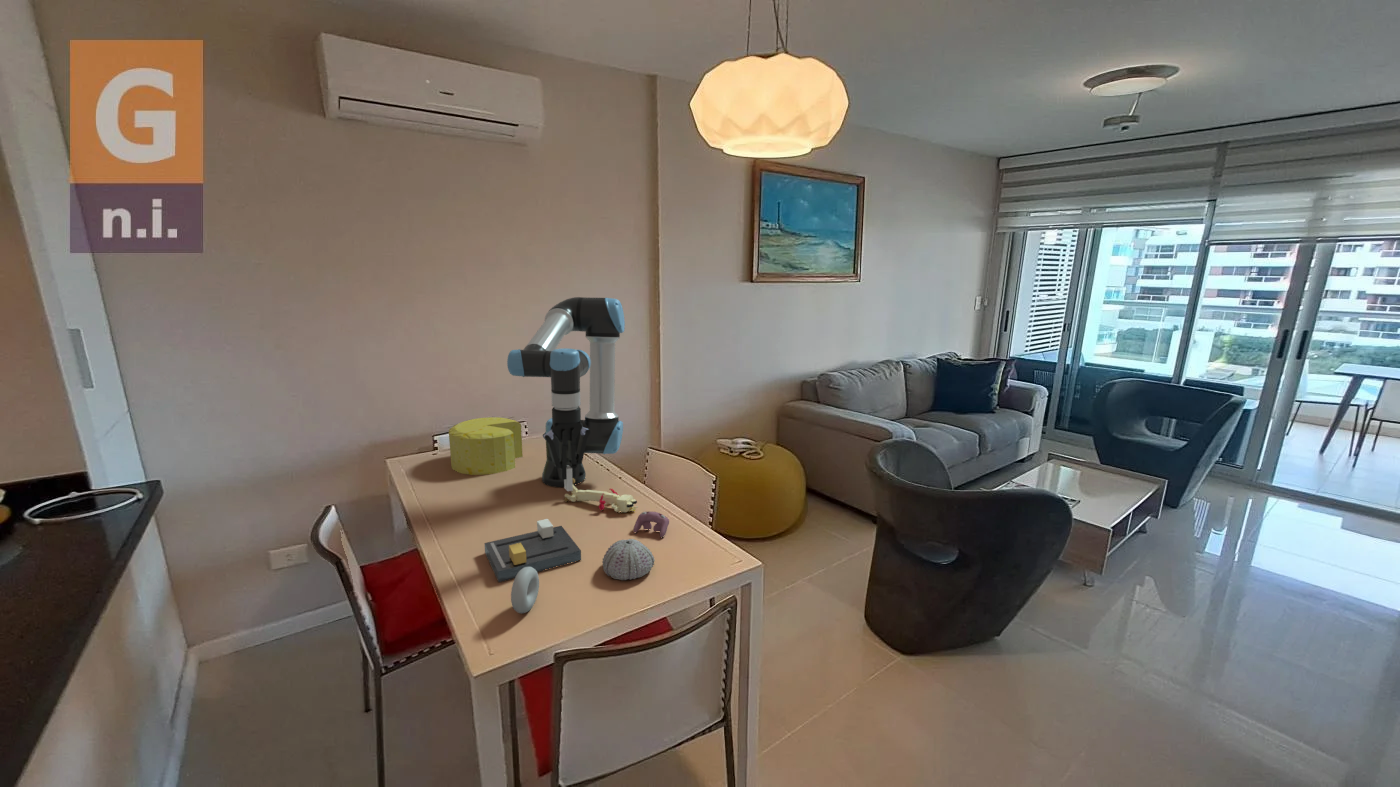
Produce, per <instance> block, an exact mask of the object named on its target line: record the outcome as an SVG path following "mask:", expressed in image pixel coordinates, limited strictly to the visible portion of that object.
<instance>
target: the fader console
mask: <svg viewBox="0 0 1400 787" xmlns="http://www.w3.org/2000/svg"><path fill="white" fill-rule="evenodd" d="M553 535H554V536H551V537H547V538H542V537H541V535H540V534H539V533H538V531H537V530H536V531H532V532H527V533H524V534H523V533H522V534H519V535H514V536H510V537H506V538H501V539H497V540H492V541H488V542H484V554H485V556H486V558H487V560H489V561H488V562H489V565H490V567H491V569H492V571H493V573H494V575H495V578H496V579H497V582H498V583H502V581H503V582H505V580H506V581H509V579H510V580H514V579H515V577H516V575H517V574H518V572H519V571H520V570H521V569H522V568H524V567H532V568H534V569H535V570H536V571H537V573H539V571H540V572H544V571H546V570H545V569H548V570H550V569H549V568H552V569H554V568H553V567H556V566H559V567H561V566H560V565H563V566H565V565H564V564H567V563H571V562H574V563H576V562H575V561H578V560H581V561H582V550H581V549H580V547H579V546H578V545H577V544H576V542H575V541H574V540H573V538H572V537H571V535H569V533H568V532H567V531H566V529H565V528H564V527H563V526H562V525H559V526H553ZM517 543H521V544H522V546H523V547H524V549H525V551H526V562H525V563H521V564H517V565H514V564H513V562H512V560H511V558H510V556H509V545H513V544H517ZM578 562H579V561H578ZM571 564H572V563H571ZM567 565H568V564H567ZM556 568H557V567H556ZM543 570H544V571H543ZM513 578H514V579H513Z"/></svg>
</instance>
